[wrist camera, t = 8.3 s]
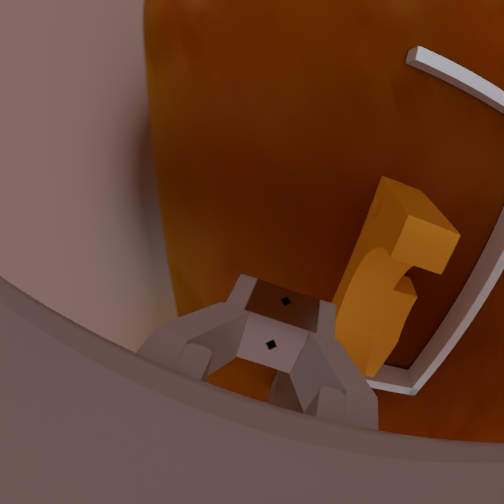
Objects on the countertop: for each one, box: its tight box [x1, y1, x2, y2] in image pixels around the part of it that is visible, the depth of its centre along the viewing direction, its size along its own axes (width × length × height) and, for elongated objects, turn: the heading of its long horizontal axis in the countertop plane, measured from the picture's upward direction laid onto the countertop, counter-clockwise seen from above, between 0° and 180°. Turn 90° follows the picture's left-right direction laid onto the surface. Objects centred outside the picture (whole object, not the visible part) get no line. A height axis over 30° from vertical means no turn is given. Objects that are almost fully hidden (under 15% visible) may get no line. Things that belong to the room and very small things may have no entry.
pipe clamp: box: [331, 176, 461, 378], centre depth 17 cm, size 12×4×6 cm, turn 168°
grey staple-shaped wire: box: [365, 46, 504, 395], centre depth 17 cm, size 10×22×2 cm, turn 168°
